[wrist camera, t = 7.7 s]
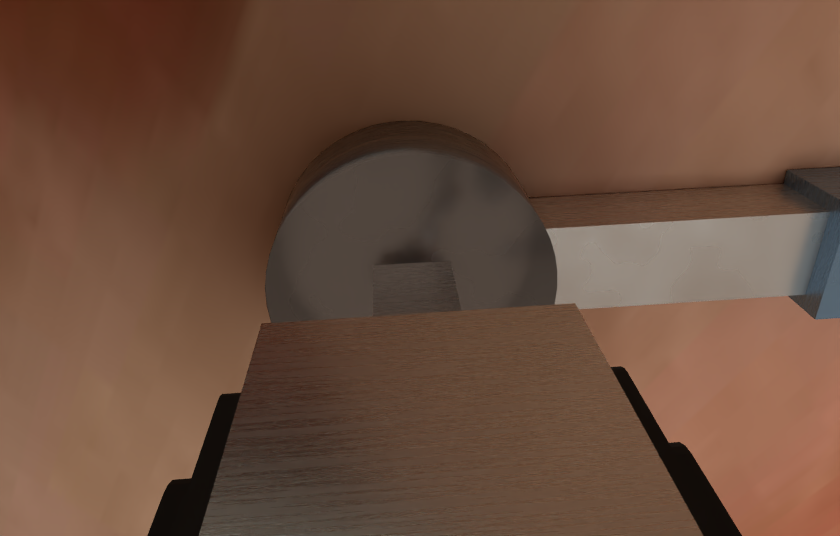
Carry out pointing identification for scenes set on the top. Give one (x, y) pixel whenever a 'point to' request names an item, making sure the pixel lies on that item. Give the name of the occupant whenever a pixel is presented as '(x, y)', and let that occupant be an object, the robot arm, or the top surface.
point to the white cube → (439, 433)
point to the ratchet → (534, 236)
